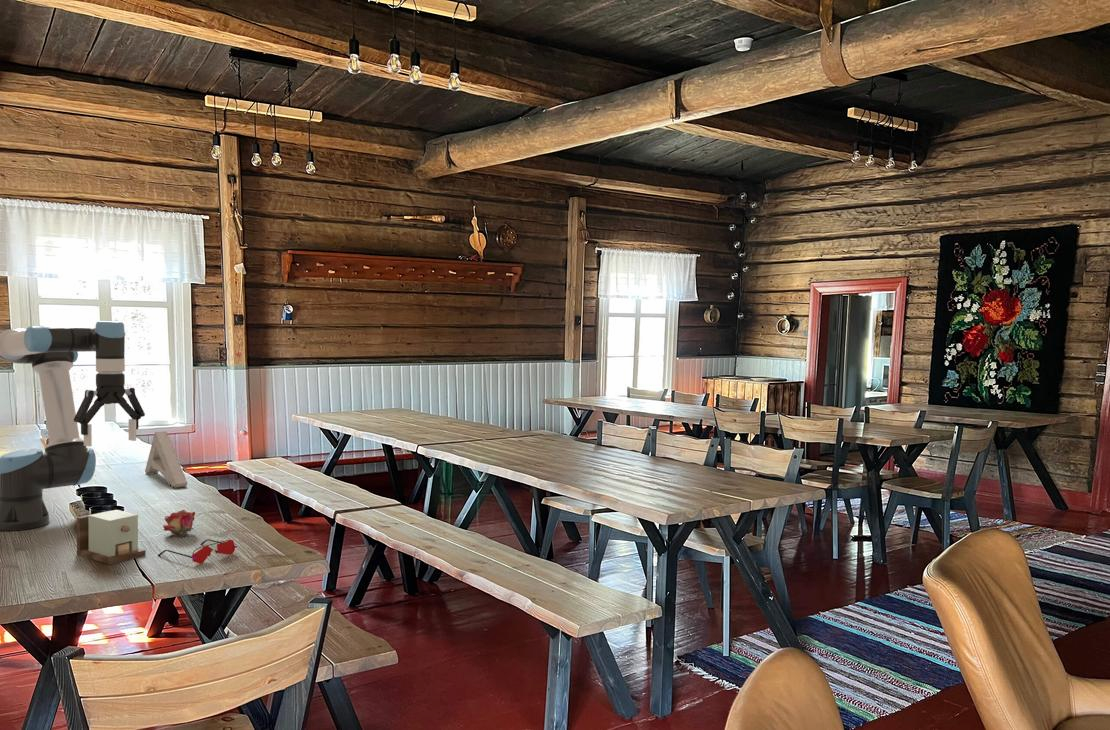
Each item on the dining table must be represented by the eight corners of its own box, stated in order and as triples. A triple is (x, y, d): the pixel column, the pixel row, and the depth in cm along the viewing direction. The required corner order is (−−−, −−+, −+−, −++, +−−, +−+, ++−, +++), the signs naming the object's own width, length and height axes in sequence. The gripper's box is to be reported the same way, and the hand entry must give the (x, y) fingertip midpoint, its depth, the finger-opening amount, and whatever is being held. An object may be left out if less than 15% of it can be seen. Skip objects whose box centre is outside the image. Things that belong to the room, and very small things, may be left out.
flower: (205, 530, 240) (200, 506, 243) (178, 530, 232) (173, 506, 235) (186, 543, 243) (181, 520, 246) (158, 544, 235) (154, 520, 238)
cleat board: (76, 554, 218) (76, 517, 217) (112, 545, 227) (112, 510, 226) (110, 564, 210) (110, 526, 210) (145, 555, 219) (145, 518, 218)
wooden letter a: (164, 523, 311) (144, 471, 328) (176, 521, 314) (156, 469, 331) (175, 484, 301) (154, 432, 318) (187, 483, 304) (166, 431, 321)
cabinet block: (88, 550, 217) (88, 515, 216) (116, 543, 224) (116, 509, 223) (112, 557, 211) (112, 521, 211) (140, 550, 218) (140, 515, 218)
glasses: (193, 567, 211) (193, 549, 210) (157, 557, 219) (157, 539, 219) (237, 555, 223) (237, 538, 222) (201, 545, 231) (201, 528, 231)
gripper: (142, 370, 245) (142, 436, 247) (59, 373, 224) (60, 446, 225) (157, 371, 242) (157, 439, 243) (74, 375, 220) (74, 449, 221)
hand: (110, 443), depth 234 cm, fingers open, 13 cm apart
